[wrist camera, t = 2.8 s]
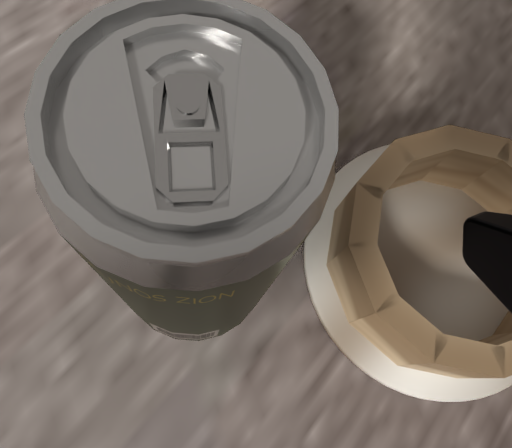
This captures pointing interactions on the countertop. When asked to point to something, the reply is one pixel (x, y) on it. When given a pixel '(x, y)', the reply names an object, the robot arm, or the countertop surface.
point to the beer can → (183, 153)
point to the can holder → (415, 265)
